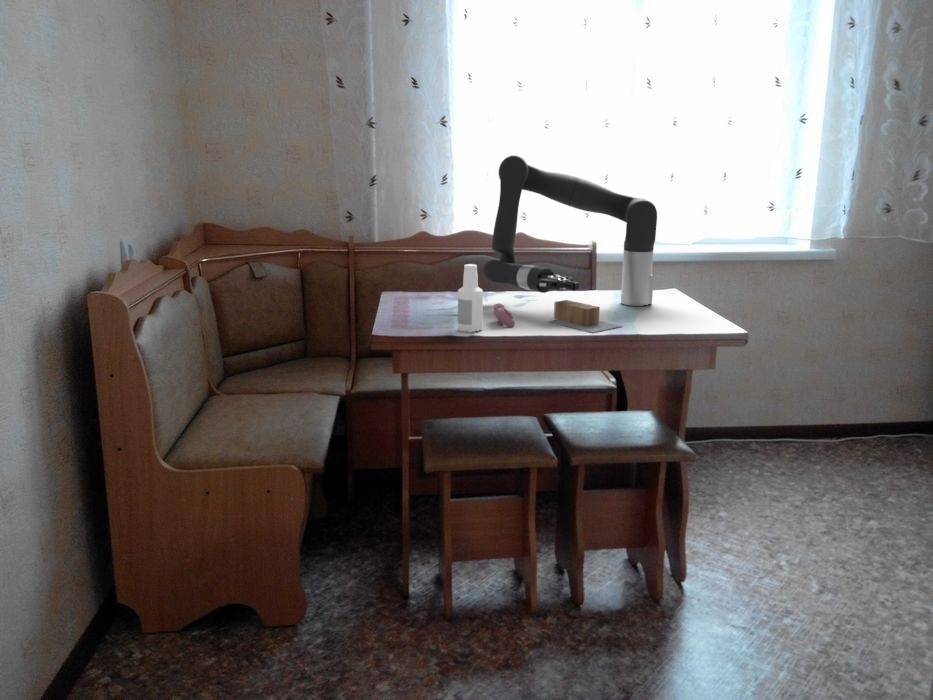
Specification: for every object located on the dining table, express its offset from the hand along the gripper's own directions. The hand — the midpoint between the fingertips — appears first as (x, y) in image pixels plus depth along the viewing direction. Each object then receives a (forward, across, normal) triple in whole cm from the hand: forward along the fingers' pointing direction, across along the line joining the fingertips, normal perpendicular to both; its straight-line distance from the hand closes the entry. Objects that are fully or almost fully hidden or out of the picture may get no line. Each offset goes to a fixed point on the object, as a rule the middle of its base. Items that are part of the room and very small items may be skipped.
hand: (577, 286), depth 226 cm
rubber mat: (+4, 0, +10) cm, 11 cm away
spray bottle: (-12, -30, +11) cm, 34 cm away
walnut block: (-6, 0, +8) cm, 10 cm away
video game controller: (-12, -18, +11) cm, 24 cm away
